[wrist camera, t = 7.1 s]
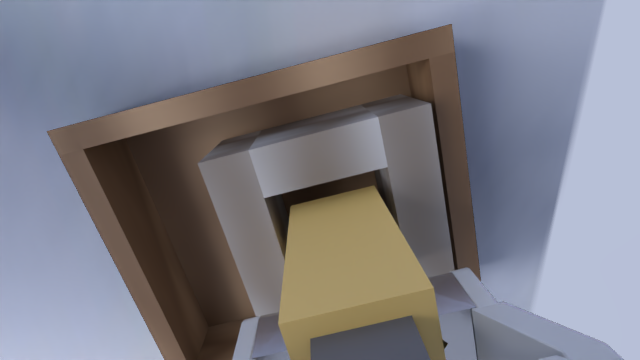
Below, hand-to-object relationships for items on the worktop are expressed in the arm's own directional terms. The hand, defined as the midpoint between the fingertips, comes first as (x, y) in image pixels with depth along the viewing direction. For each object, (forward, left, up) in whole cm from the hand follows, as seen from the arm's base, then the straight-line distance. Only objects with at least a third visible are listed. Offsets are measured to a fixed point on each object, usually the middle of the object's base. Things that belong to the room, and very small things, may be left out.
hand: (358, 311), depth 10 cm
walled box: (-2, 0, -9) cm, 10 cm away
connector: (0, 0, -5) cm, 5 cm away
